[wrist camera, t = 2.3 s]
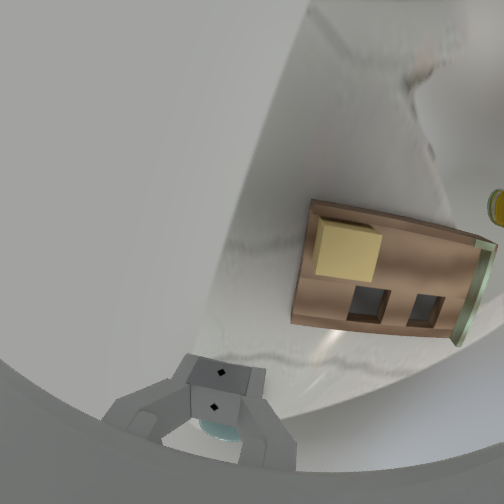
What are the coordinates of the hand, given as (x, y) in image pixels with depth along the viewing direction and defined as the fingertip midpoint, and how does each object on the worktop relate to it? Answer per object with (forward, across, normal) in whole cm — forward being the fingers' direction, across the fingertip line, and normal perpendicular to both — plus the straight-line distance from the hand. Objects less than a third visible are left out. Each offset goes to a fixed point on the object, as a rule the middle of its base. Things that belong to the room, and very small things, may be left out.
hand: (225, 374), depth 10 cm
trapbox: (+26, -17, +3) cm, 31 cm away
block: (+23, -8, -1) cm, 25 cm away
